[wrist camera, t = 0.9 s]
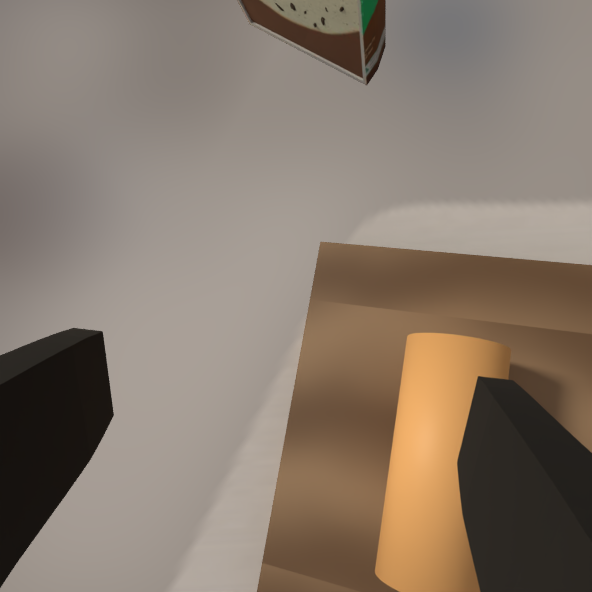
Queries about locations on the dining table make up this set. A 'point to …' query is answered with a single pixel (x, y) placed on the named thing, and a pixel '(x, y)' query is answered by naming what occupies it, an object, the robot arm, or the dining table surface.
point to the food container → (326, 30)
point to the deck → (386, 386)
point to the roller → (432, 463)
